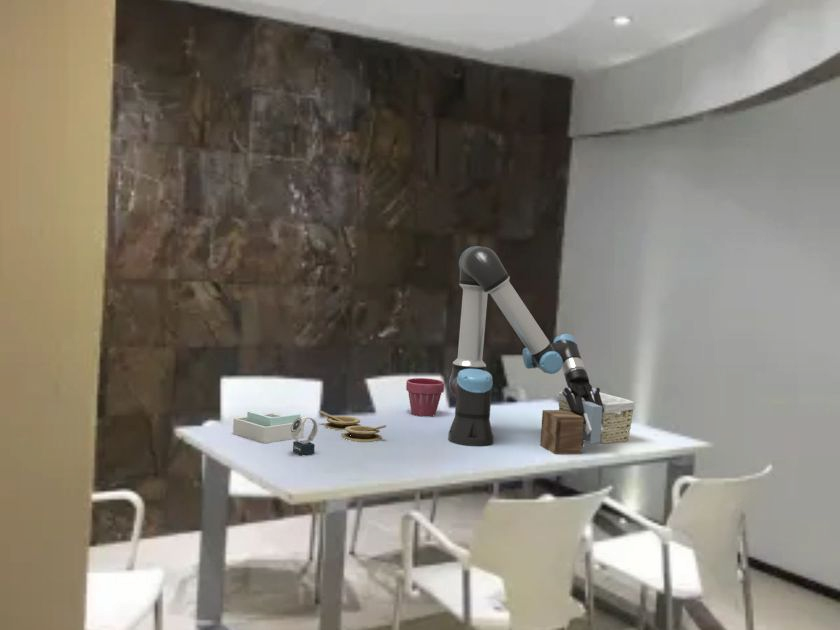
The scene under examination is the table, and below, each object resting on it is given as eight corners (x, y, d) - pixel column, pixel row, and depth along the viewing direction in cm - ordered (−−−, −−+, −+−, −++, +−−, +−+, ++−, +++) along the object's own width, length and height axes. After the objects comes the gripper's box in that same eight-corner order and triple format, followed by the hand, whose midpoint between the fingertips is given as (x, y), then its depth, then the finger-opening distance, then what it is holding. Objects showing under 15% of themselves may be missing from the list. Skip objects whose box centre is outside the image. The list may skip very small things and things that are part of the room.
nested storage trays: (264, 443, 284) (265, 427, 284) (232, 433, 295) (233, 418, 295) (303, 437, 296) (304, 422, 296) (272, 428, 307) (272, 413, 306)
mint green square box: (299, 437, 296) (300, 414, 295) (269, 441, 287) (270, 418, 287) (275, 430, 304) (276, 408, 303) (246, 434, 295) (247, 411, 295)
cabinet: (583, 453, 298) (586, 417, 297) (555, 454, 295) (558, 417, 294) (567, 445, 309) (569, 410, 308) (540, 445, 306) (542, 410, 305)
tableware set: (397, 442, 300) (398, 424, 300) (341, 445, 291) (342, 427, 291) (360, 423, 327) (361, 407, 326) (308, 426, 317) (309, 409, 317)
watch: (286, 452, 275) (288, 416, 274) (310, 450, 280) (312, 414, 279) (295, 456, 271) (297, 419, 270) (319, 454, 275) (321, 418, 274)
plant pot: (412, 418, 338) (414, 384, 337) (399, 410, 351) (401, 377, 350) (447, 417, 343) (450, 384, 342) (433, 410, 356) (435, 377, 355)
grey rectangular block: (599, 442, 301) (602, 406, 300) (590, 442, 300) (592, 406, 299) (587, 436, 310) (589, 401, 309) (577, 436, 309) (580, 401, 308)
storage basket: (634, 442, 322) (637, 400, 321) (601, 445, 313) (605, 403, 312) (585, 428, 342) (588, 388, 340) (553, 431, 332) (556, 390, 331)
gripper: (592, 380, 320) (613, 437, 306) (549, 380, 315) (568, 438, 301) (601, 367, 315) (622, 425, 300) (557, 367, 310) (576, 426, 296)
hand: (595, 432), depth 301 cm, fingers closed on grey rectangular block, 3 cm apart
